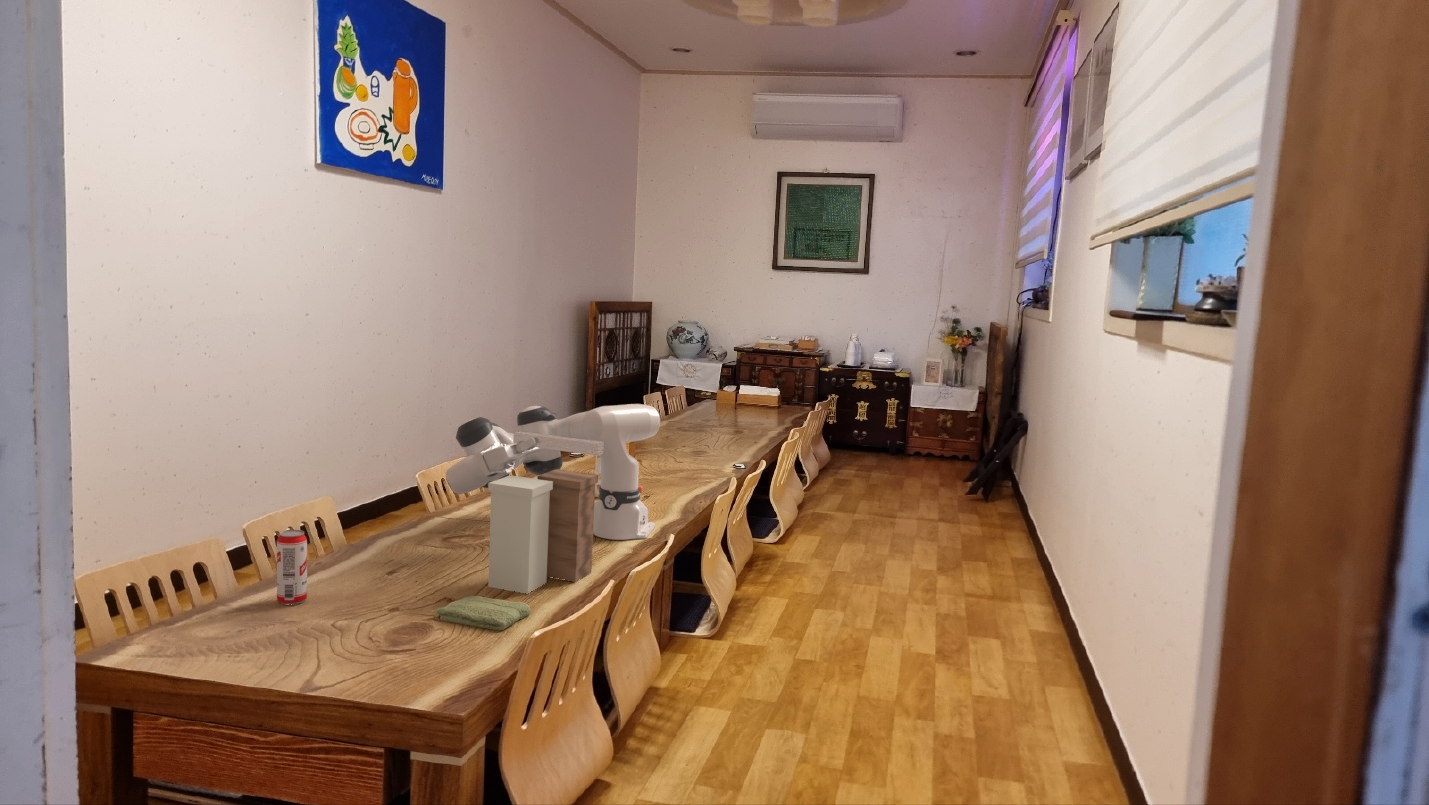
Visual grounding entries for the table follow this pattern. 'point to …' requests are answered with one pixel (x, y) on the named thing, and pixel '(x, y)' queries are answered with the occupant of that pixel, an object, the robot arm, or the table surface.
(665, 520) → the table surface
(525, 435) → the bar
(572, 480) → the walnut stand
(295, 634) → the table surface
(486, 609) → the washcloth
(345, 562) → the table surface
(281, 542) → the beer can
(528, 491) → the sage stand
